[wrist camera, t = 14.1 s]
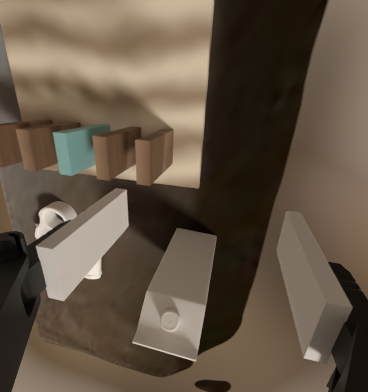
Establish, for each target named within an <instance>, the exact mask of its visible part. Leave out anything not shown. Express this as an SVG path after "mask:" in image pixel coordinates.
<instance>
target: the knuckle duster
mask: <svg viewBox="0 0 368 392" xmlns="http://www.w3.org/2000/svg"><path fill="white" fill-rule="evenodd" d="M55 213H57V214H59V215H60V216H61V217H62V218H63V220H64V221H62V220H60V219H59V218H58V217H57V216H56V214H55ZM39 217H40V224H35V226H36V230H35V237H36V239H38V238H40V237H41V236H43V235H44V234H46V233H47V232H48V231H50V230H52V229H53V228H54V227H56V226H57V225H59V224H60V223H63V222H65V221H68V220H72V219H74V218H75V217H77V214H76V212H75V211H74V209H73V208H72V207H71V206H70V205H68V204H67V203H65V202H62V201H56V202H53V203H51V204H49V205H48V206H46V207H44V208H42V209H41V210H40V211H39ZM101 274H102V271H101V259H100V260H99V261H98V262H97V263H96V264H95V265H94V267H93V268H92V269H91V270H90V271H89V272H88V274H87V275H86V276H85V277H84V278H87V279H98V278H100V277H101Z"/></svg>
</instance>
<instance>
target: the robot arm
mask: <svg viewBox="0 0 368 392" xmlns="http://www.w3.org/2000/svg"><path fill="white" fill-rule="evenodd" d="M128 226H129V223H128V204H127V190H126V189H119V188H115V189H114V190H113V191H111V192H110V193H108V194H107V195H106V196H104V197H103V198H102V199H100V200H99V201H97V202H96V203H95V204H93V205H92V206H90V207H89V208H88V209H86V210H85V211H84V212H82V213H81V214H79V215H78V216H77V217H75V218H74V219H72V220H68V221H65V222H63V223H60V224H59V225H57V226H56V227H54V228H53V229H52V230H50V231H48V232H47V233H46V234H44V235H43V236H41V237H40V238H38V239H37V240H35V241H34V242H33V243H31V244H30V245H28V246H27V245H26V241H25V238H24V235H23V234H22V233H21V232H17V231H12V232H5V233H1V234H0V392H11V391H12V388H13V385H14V382H15V379H16V376H17V373H18V370H19V366H20V363H21V360H22V357H23V354H24V351H25V348H26V345H27V342H28V339H29V335H30V332H31V329H32V326H33V323H34V320H35V317H36V314H37V311H38V308H39V304H40V299H41V298H40V293H41V292H42V291H43V290H44V289H45V288H46V289H47V293H48V297H49V298H53V299H57V300H62V301H64V300H65V299H66V298H67V297H68V295H69V294H70V293H71V292H72V291H73V290H74V289H75V287H76V286H77V285H78V284H79V283H80V282H81V280H82V279H83V278H84V277H85V276H86V275H87V274H88V272H89V271H90V270H91V269H92V268H93V267H94V265H95V264H96V263H97V262H98V261H99V260H100V259H101V257H102V256H103V255H104V254H105V253H106V252H107V251H108V249H109V248H110V247H111V246H112V245H113V244H114V242H115V241H116V240H117V239H118V238H119V237H120V236H121V234H122V233H123V232H124V231H125V230H126V229H127V227H128ZM277 254H278V258H279V262H280V266H281V270H282V274H283V278H284V282H285V286H286V290H287V293H288V298H289V302H290V306H291V310H292V314H293V317H294V322H295V326H296V330H297V334H298V338H299V341H300V345H301V349H302V353H303V357H304V358H305V359H310V360H314V361H318V362H322V363H327V361H328V359H329V357H330V355H331V353H332V355H333V357H334V360H335V363H336V368H335V370H334V372H333V374H332V376H331V378H330V380H329V382H328V384H327V387H328V388H329V390H328V392H368V300H367V298H366V296H365V295H364V293H363V292H361V289H360V287H359V286H358V284H356V281H355V279H354V278H353V276H352V275H351V273H350V272H349V271H347V270H346V269H345V268H344V267H343V266H342V265H341V264H338V263H332V262H327V260H326V258H325V256H324V254H323V253H322V251H321V249H320V247H319V245H318V243H317V242H316V240H315V238H314V236H313V234H312V233H311V231H310V229H309V227H308V225H307V224H306V222H305V220H304V218H303V216H302V214H301V213H298V212H290V211H286V215H285V219H284V223H283V226H282V230H281V234H280V238H279V242H278V246H277Z"/></svg>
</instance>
